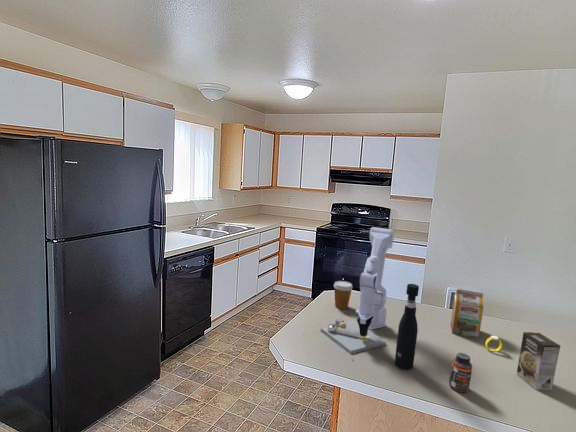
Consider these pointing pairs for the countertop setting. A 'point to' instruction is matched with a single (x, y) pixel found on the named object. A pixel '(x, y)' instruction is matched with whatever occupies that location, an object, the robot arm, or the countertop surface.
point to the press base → (353, 338)
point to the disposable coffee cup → (342, 294)
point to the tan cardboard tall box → (467, 313)
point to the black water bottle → (407, 332)
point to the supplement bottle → (460, 373)
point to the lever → (345, 331)
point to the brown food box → (538, 360)
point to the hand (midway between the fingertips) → (363, 333)
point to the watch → (493, 339)
